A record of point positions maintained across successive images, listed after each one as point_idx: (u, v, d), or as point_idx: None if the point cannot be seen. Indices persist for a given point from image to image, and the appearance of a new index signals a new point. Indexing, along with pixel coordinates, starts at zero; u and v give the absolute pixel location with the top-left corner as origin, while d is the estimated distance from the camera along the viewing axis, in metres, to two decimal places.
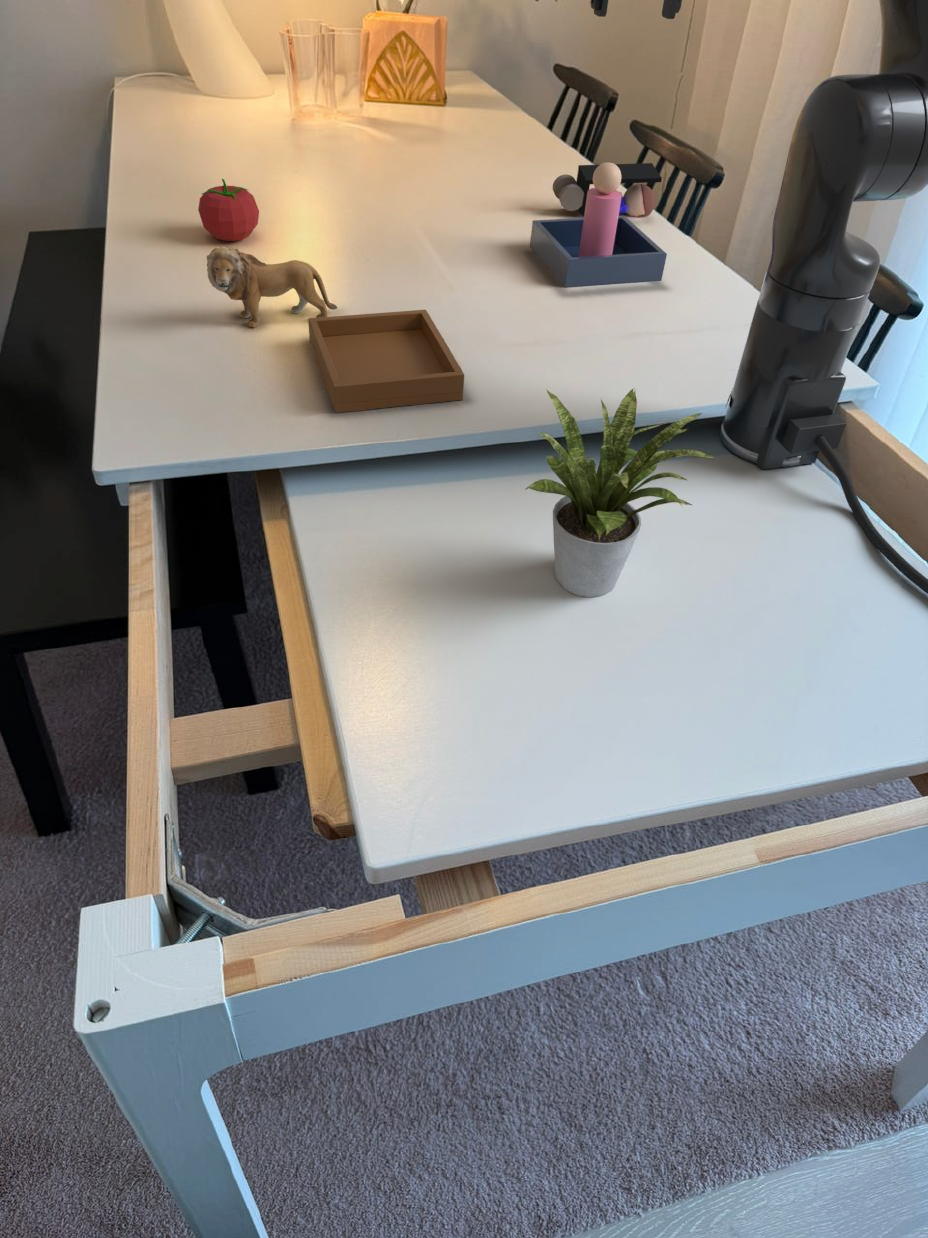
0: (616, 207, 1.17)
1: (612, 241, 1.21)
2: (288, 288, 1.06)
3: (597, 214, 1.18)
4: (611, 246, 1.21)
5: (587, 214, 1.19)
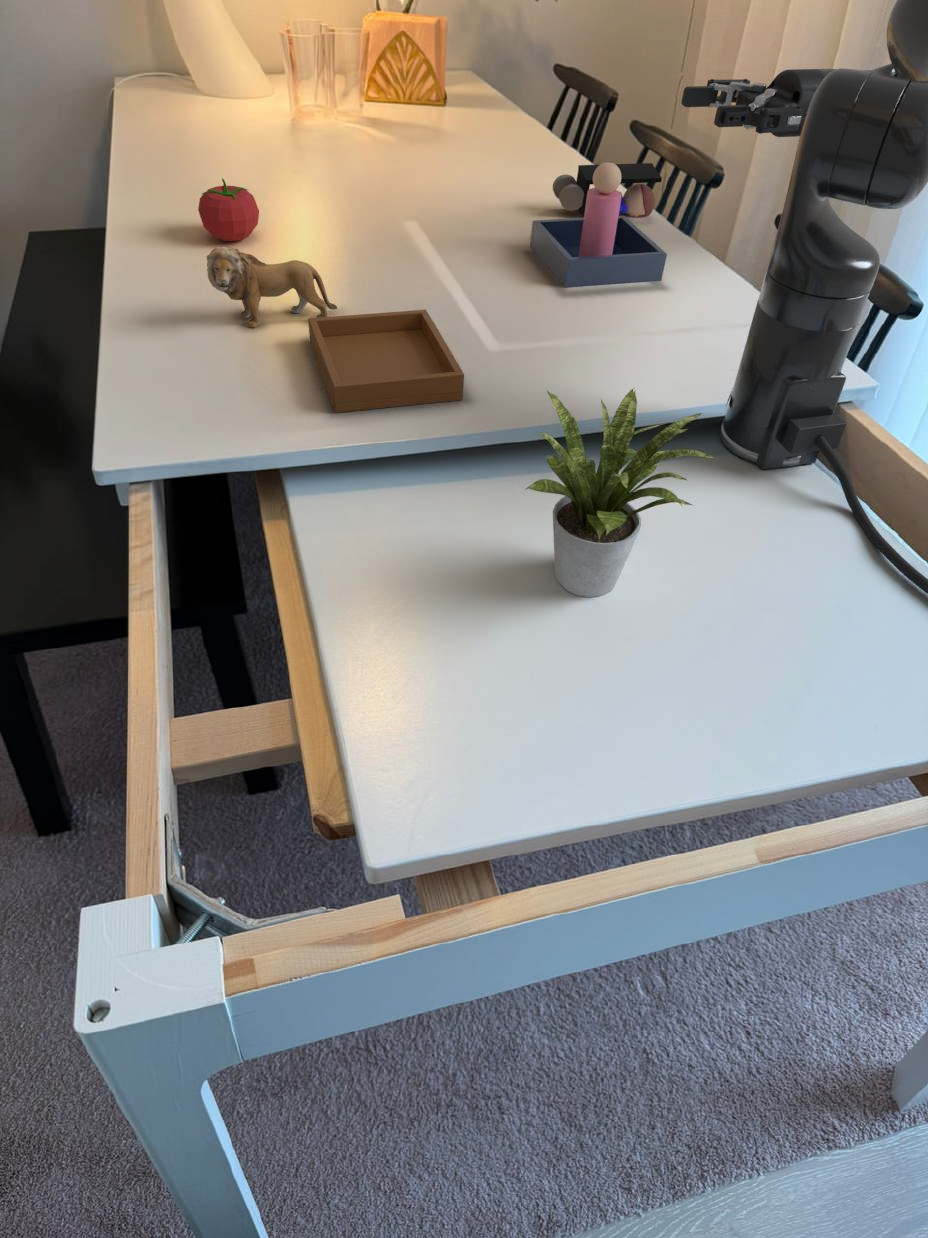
0: (616, 207, 1.17)
1: (612, 241, 1.21)
2: (288, 288, 1.06)
3: (597, 214, 1.18)
4: (611, 246, 1.21)
5: (587, 214, 1.19)
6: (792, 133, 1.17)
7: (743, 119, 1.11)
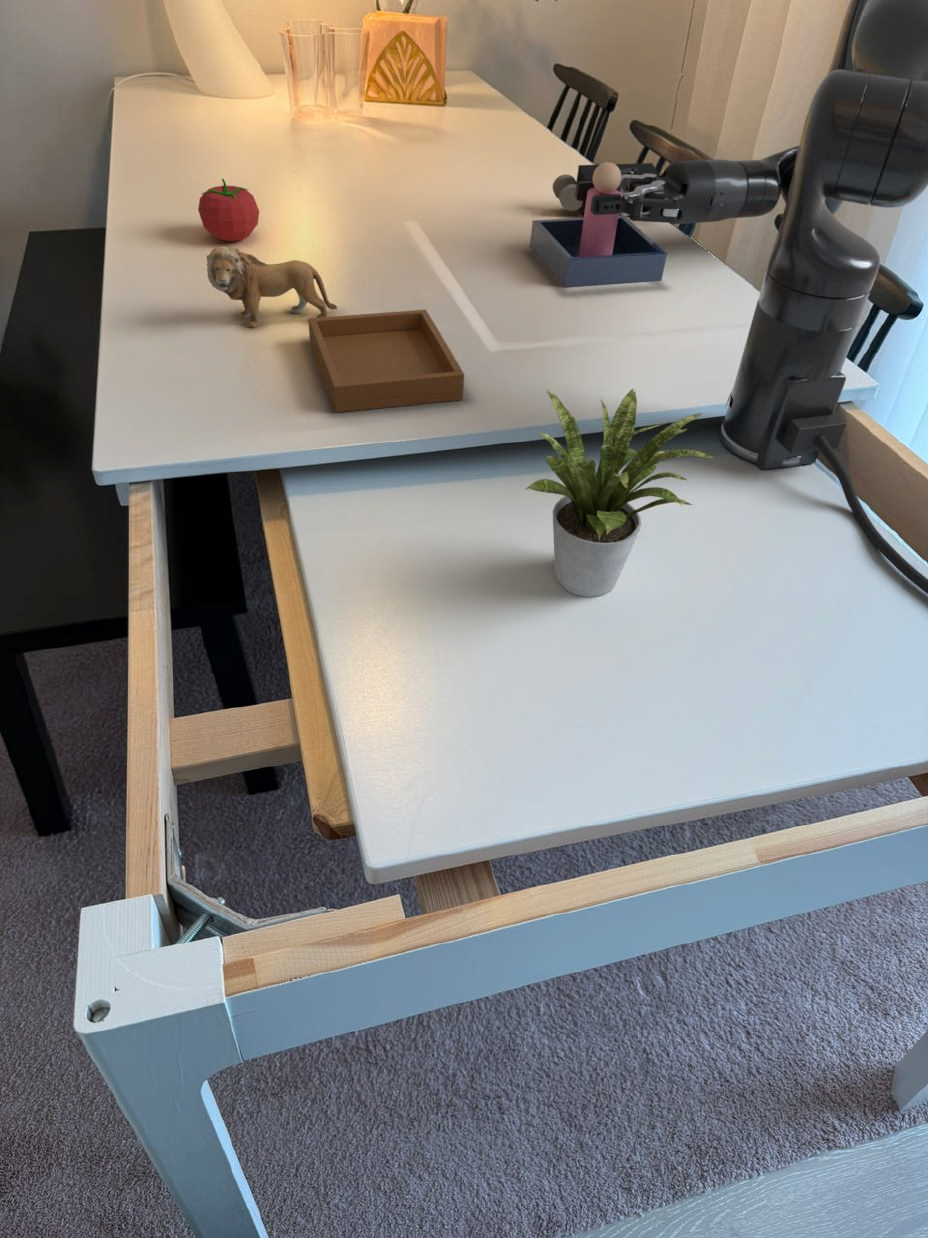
0: None
1: (612, 241, 1.21)
2: (288, 288, 1.06)
3: None
4: (611, 246, 1.21)
5: (587, 214, 1.19)
6: (683, 221, 1.21)
7: (618, 207, 1.16)
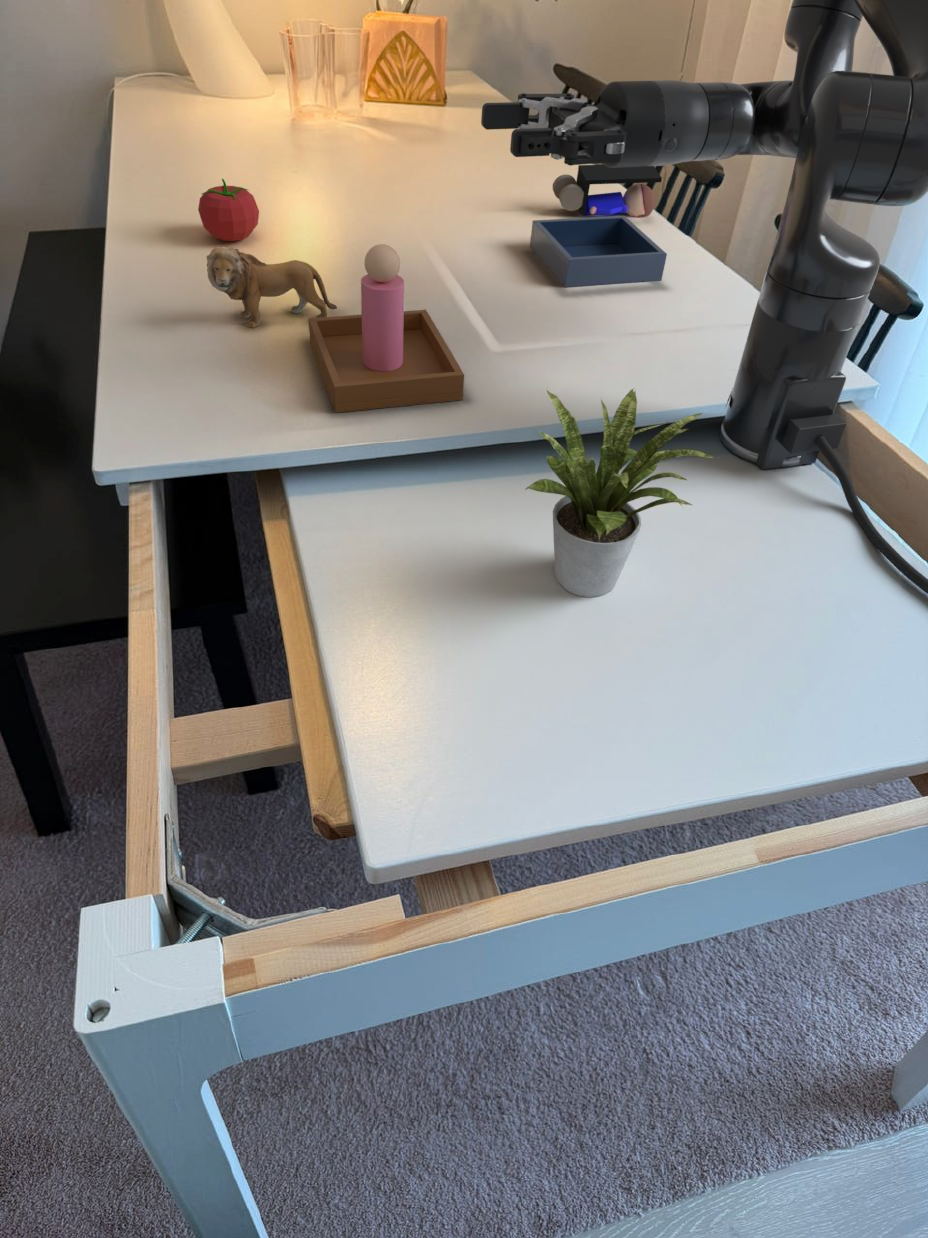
0: (395, 299, 0.94)
1: (398, 338, 0.97)
2: (288, 288, 1.06)
3: (372, 307, 0.94)
4: (398, 344, 0.98)
5: (363, 307, 0.95)
6: (624, 163, 0.91)
7: (547, 147, 0.85)
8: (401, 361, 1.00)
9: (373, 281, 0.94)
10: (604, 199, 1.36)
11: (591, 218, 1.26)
